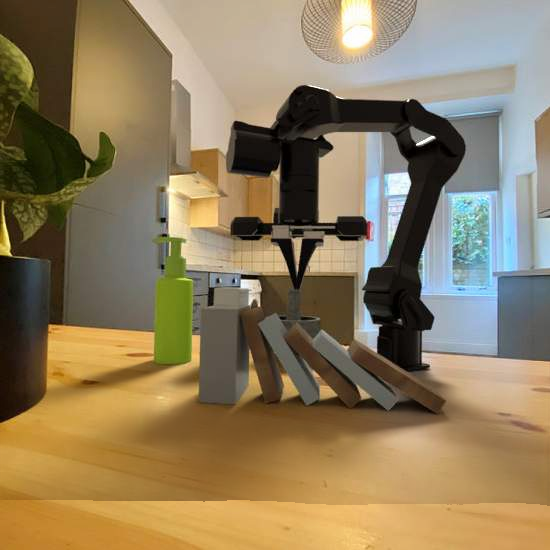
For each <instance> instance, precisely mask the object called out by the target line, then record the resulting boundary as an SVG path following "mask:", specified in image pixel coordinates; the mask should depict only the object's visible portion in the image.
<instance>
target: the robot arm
mask: <svg viewBox="0 0 550 550" xmlns="http://www.w3.org/2000/svg"><path fill="white" fill-rule="evenodd" d="M412 127H413V128H414V129H416V130H419V132H423V133H425V134H427V135H430V137H428V138H426V139H425V140H422V141H420V142H419V143H417V142H416V141H415V139H413V136H412V133H411V128H412ZM333 133H390V134H391V135H392V136H393V138H395V141H396V144H397V148H398V152H399V153H400V155H401V156H402V157H403V159H405V161H407V162H408V163H407V164H408V165H407V169H406V170H407V174H408V178H409V181H410V187H409V189H408V191H407V195H406V199H405V202H404V205H403V208H402V211H401V214H400V217H399V221H398V223H397V225H396V229H395V232H394V235H393V239H392V241H391V243H390V248H389V252H388V254H387V258H386V260H385V261H384V262H383V264H382V265H381V266H373V267H370V268H369V270H368V272H367V279H366V282H365V284H364V286H362V288H361V290H362V291H364V292H363V298H362V299H363V301H362V302H363V304H364V305H365V308H366V310H367V312H369V315H370V319H371V323H372V324H373V325H377V326H378V325H379V326H378V335H377V337H376V353H378V354H379V355H381V356H383V357H384V358H386V359H387V360H389V361H391V362H392V363H394V364H395V365H397V366H399V367H400V368H402V369H403V370H405V371H407V372H408V371H415V370H423V369H430V367H431V365H430V364H429V363H425V362H423V332H425V331H431V330H432V329H433V325H434V321H435V315H433V313H432V311H430V309H429V308H428V307H427V306H426V305H425V303H424V302H423V300H422V299H421V295H422V290H423V289H422V287H423V284H422V279H421V276H420V272H419V265H420V261H421V257H422V254H423V251H424V248H425V245H426V241H427V238H428V234H429V232H430V228H431V226H432V222H433V219H434V217H435V216H434V215H435V213H436V208H437V206H438V203H439V200H440V196H441V193H442V190H443V188H444V186H445V185H446V184H447V183H448V182H449V181H450V180H451V178H452V177H453V176H454V175H455V174H456V173H457V172H458V170H459V168H460V166H461V164H462V162H463V160H464V157H465V155H466V150H467V147H466V142H465V139H464V138H463V136H462V135H461V133H460V132H459V131H458V130H457V129H456V128H455V127H454V126H453V124H452V123H451V122H450V121H449V120H448V119H447V118H445V117H443V116H441V115H439V114H436V113H434V112H431V111H430V110H427V109H426V108H425V107H424V106H423V105H422V103H421V102H419V100H417V99H415V98H411V99H409V98H408V99H405V100H392V99H367V98H366V99H363V98H343V97H338V96H336V95H335V94H334V93H332V92H331V91H330V90H328V89H325V88H321V87H317V86H312V85H309V84H302V85H297V87H296V88H295V89H293V91H292V92H291V93H290V94H289V96H288V97H287V98H286V99H285V101H284V102H283V104H282V105H281V107H280V108H279V109H278V111H277V113H276V116H275V121H274V122H273V123H272V124H271V126H270V127H267V126H266V127H265V126H260V125H256V124H250V123H246V122H244V121H241V120H240V121H239V120H233V122H232V124H231V127H230V136H229V140H228V145H227V146H228V148H227V151H226V155H225V168H226V172H227V174H229V175H230V174H232V175H238V176H248V177H256V178H264V179H268V178H269V177H270V176H271V174H272V172H273V173H274V172H277V171H278V170H279V172H278V173H279V179H278V207H275V208H274V210H273V219H272V221H273V222H264V221H263V220H262V219H261V218H260V217H259V216H234V217H233V219H232V220H231V222H230V232H229V233H230V237H232V238H233V239H235V240H237V241H239V242H240V241H241V242H242V241H243V242H254V241H255V242H259V241H261V240H262V238H264V236H266V237H267V236H268V237H271V238H270V243H271V244H272V245H273V246H275V247H279V249H280V252H281V254H282V256H283V259H284V260H285V263H286V266H287V270H288V273H289V276H290V280H291V283H292V286H293V288H294V289H296V290H301V287H302V285H303V282H304V281H303V280H304V278H305V274H306V272H307V269H308V266H309V264H310V261H311V258H312V256H313V254H314V253H315V250H316V249H317V248H319V247H324V240H325V237H328V236H329V237H333V236H335V237H336V238H337V239H338V241H340V242H362V241H364V240H365V239H366V238H367V236H368V221H367V219H366V218H365V217H364V216H362V215H351V216H350V215H346V216H345V215H342V216H341V215H340V216H339V215H338V216H336V220H335V222H319V220H320V211H319V206H320V205H319V199H320V197H319V196H320V193H319V192H320V158H323V157H325V156H326V155H328V154H329V153H330V152H332V151H333V150H334V148H335V147H334V145H333V144H332V143H331V142H330V141H329V140H327V139H326V138H325V135H328V134H333ZM278 168H279V169H278ZM298 238H301V245H300V252H299V254H300V255H299V259H298V269H297V261H296V253H295V251H296V249H295V248H296V247H295V242H294V241H293V239H294V240H295V239H298Z"/></svg>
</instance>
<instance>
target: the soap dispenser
mask: <svg viewBox="0 0 550 550" xmlns="http://www.w3.org/2000/svg"><path fill="white" fill-rule="evenodd" d="M150 242H152V243H154V244H162V243H170V248H169V255H168V256H167V257H164V269H163V270H164V271H163V273H164V275H163V276H164V277H160V278H157V279H156V280H155V297H154V299H155V301H154V302H155V303H154V304H155V305H154V337H153V338H154V340H153V341H154V342H153V363H155V364H160V365H181V364H185V363H189V362H191V361H192V356H193V355H192V350H193V348H192V346H193V317H194V316H193V314H194V313H193V310H194V308H193V307H194V280H193V279H190V278H188V277H187V275H186V274H187V258H184V256H182V243H183V244H187V239H186V238H183V237H175V236H174V237H173V236H161V237H155V238H152V239H150Z"/></svg>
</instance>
